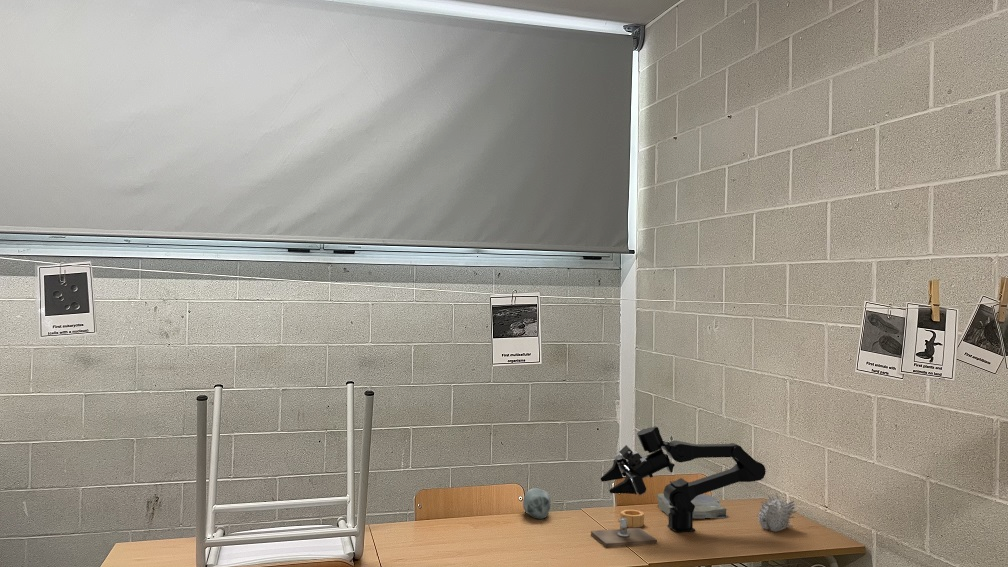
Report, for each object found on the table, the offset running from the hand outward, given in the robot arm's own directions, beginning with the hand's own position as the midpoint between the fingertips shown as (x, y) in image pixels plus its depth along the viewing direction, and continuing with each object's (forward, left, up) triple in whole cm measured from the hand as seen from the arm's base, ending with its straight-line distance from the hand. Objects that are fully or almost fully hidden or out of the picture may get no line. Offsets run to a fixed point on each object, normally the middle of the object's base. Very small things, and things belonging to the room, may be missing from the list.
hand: (605, 485), depth 231 cm
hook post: (-2, +10, -12) cm, 16 cm away
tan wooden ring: (-11, -4, -14) cm, 18 cm away
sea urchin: (-54, +10, -14) cm, 57 cm away
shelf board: (-2, +10, -14) cm, 17 cm away
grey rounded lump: (+16, -20, -14) cm, 29 cm away
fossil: (-38, -14, -14) cm, 43 cm away
